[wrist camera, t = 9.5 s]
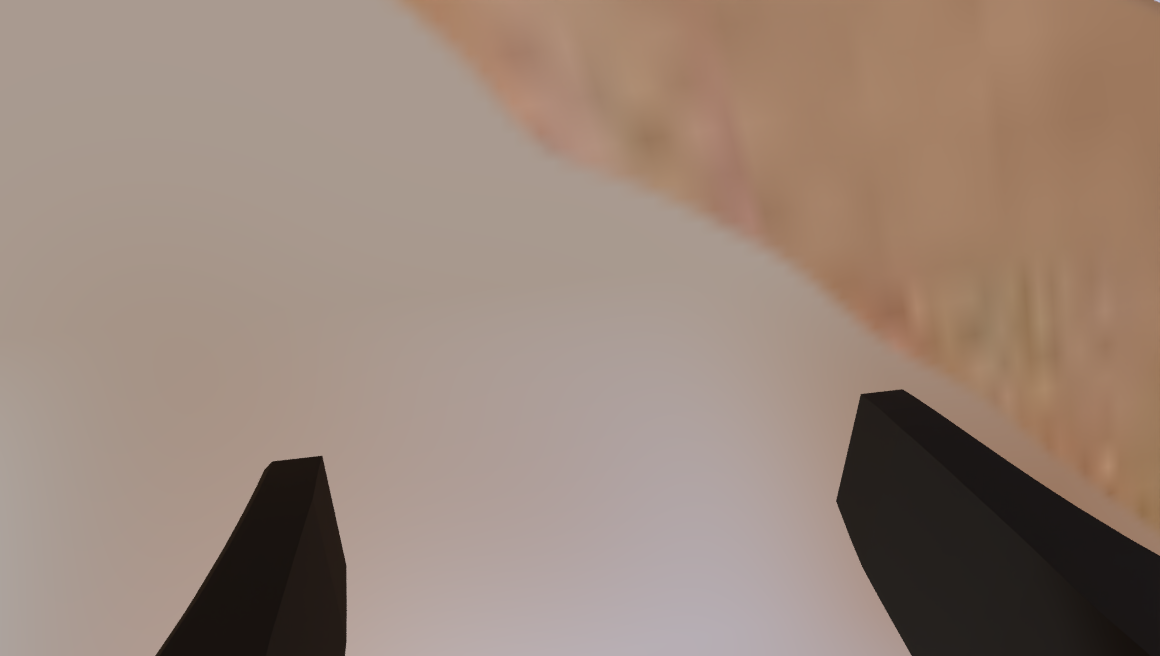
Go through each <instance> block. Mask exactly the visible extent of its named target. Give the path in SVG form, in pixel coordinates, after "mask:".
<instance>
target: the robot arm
mask: <svg viewBox="0 0 1160 656" xmlns="http://www.w3.org/2000/svg"><path fill="white" fill-rule="evenodd" d="M1155 1H1157V2H1159V3H1160V0H1155ZM836 502H837V504H838V507H839V510H840V512H841V515H842V518H843V520H844V523H845V525H846V528H847V531H848V533H849V536H850V538H851V541H852V543H853V546H854V548H855V550H856V553H857V555H858V557H859V560H860V562H861V565H862V567H863V569H864V571H865V573H866V575H867V576H868V578H869V580H870V582H871V584H872V586H873V587H874V589H875V591H876V592H877V595H878V596H879V598H880V600H881V602H882V604H883V605H884V607H885V609H886V611H887V613H888V614H889V616H890V618H891V619H892V621H893V623H894V625H895V627H896V629H897V630H898V632H899V634H900V636H901V637H902V639H903V641H904V643H905V645H906V646H907V648H908V650H909V652H910V653H911V655H912V656H1160V556H1159V555H1157V554H1155V553H1154V552H1152V551H1150V550H1148V549H1147V548H1145V547H1143V546H1141V545H1139V544H1137V543H1136V542H1134V541H1133V540H1131V539H1129V538H1127V537H1126V536H1124V535H1122V534H1121V533H1119V532H1117V531H1116V530H1114V529H1113V528H1111V527H1109V526H1108V525H1106V524H1104V523H1103V522H1101V521H1099V520H1098V519H1096V518H1094V517H1093V516H1091V515H1090V514H1088V513H1086V512H1085V511H1083V510H1081V509H1080V508H1078V507H1076V506H1075V505H1073V504H1072V503H1070V502H1069V501H1067V500H1065V499H1064V498H1062V497H1061V496H1059V495H1058V494H1056V493H1055V492H1053V491H1052V490H1050V489H1049V488H1047V487H1045V486H1044V485H1043V484H1041V483H1039V482H1038V481H1036V480H1035V479H1033V478H1032V477H1030V476H1029V475H1028V474H1026V473H1024V472H1023V471H1021V470H1020V469H1019V468H1017V467H1016V466H1014V465H1013V464H1011V463H1010V462H1008V461H1007V460H1005V459H1004V458H1003V457H1001V456H1000V455H998V454H997V453H995V452H994V451H992V450H991V449H989V448H988V447H986V446H985V445H984V444H982V443H981V442H979V441H978V440H977V439H975V438H974V437H972V436H971V435H969V434H968V433H966V432H965V431H964V430H962V429H961V428H959V427H958V426H956V425H955V424H954V423H952V422H951V421H949V420H948V419H946V418H945V417H943V416H942V415H941V414H939V413H938V412H936V411H935V410H933V409H932V408H930V407H929V406H927V405H926V404H924V403H923V402H921V401H920V400H918V399H917V398H915V397H914V396H912V395H910V394H909V393H908V392H906V391H904V390H893V391H884V392H876V393H867V394H861V396H860V400H859V405H858V409H857V414H856V418H855V422H854V427H853V431H852V435H851V440H850V444H849V448H848V452H847V457H846V461H845V465H844V470H843V474H842V478H841V483H840V487H839V491H838V496H837V500H836ZM346 597H347V596H346V563H345V558H344V553H343V549H342V544H341V540H340V535H339V530H338V526H337V521H336V517H335V512H334V507H333V503H332V498H331V494H330V489H329V485H328V480H327V475H326V471H325V466H324V462H323V457H322V456H318V457H309V458H299V459H290V460H282V461H273V462H271V463H270V465H269V466H268V467H267V468H266V469H265V470H264V472H263V474H262V476H261V478H260V481H259V483H258V485H257V487H256V489H255V491H254V493H253V495H252V497H251V499H250V501H249V503H248V504H247V506H246V508H245V510H244V512H243V514H242V516H241V518H240V520H239V522H238V523H237V525H236V527H235V529H234V531H233V532H232V534H231V536H230V538H229V540H228V541H227V543H226V545H225V547H224V549H223V550H222V552H221V554H220V555H219V557H218V559H217V560H216V562H215V564H214V565H213V567H212V569H211V570H210V572H209V574H208V576H207V577H206V579H205V580H204V582H203V584H202V585H201V587H200V589H199V590H198V592H197V594H196V596H195V597H194V599H193V600H192V602H191V603H190V605H189V607H188V608H187V610H186V611H185V613H184V614H183V616H182V617H181V619H180V620H179V622H178V623H177V625H176V626H175V628H174V629H173V631H172V632H171V634H170V635H169V637H168V638H167V640H166V641H165V643H164V644H163V646H162V647H161V649H160V650H159V651H158V653H157V654H156V656H345V649H346V618H347V617H346V616H347V613H346V611H347V610H346V609H347V608H346V607H347V604H346V603H347V599H346Z"/></svg>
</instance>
